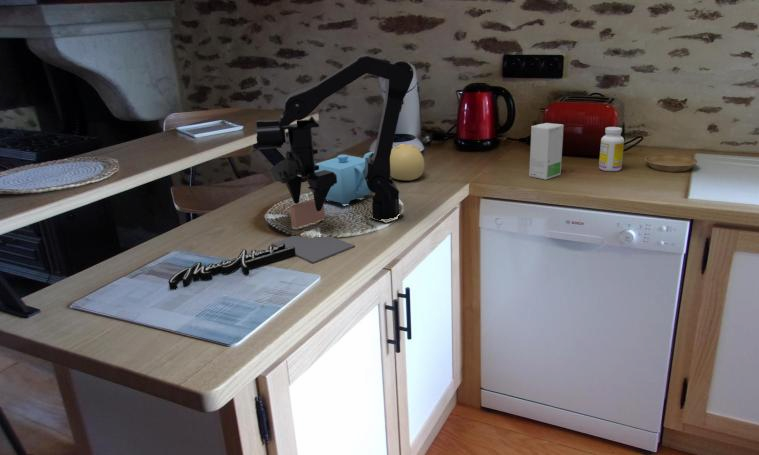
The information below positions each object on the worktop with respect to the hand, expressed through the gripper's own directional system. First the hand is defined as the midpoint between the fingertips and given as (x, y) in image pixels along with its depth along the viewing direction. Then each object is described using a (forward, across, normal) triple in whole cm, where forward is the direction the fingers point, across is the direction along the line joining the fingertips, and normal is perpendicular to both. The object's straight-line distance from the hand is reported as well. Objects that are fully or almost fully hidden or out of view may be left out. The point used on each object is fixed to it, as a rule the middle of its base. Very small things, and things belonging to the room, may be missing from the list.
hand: (307, 207), depth 146 cm
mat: (+5, +12, -8) cm, 15 cm away
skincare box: (+5, +23, +73) cm, 77 cm away
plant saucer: (+5, +48, +104) cm, 115 cm away
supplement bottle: (+5, +35, +91) cm, 98 cm away
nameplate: (+5, +9, -27) cm, 29 cm away
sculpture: (+5, -9, +45) cm, 46 cm away
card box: (+5, 0, 0) cm, 5 cm away
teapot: (+5, -8, +22) cm, 24 cm away
